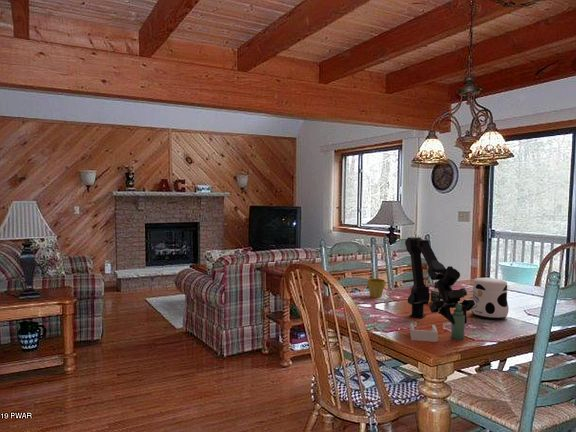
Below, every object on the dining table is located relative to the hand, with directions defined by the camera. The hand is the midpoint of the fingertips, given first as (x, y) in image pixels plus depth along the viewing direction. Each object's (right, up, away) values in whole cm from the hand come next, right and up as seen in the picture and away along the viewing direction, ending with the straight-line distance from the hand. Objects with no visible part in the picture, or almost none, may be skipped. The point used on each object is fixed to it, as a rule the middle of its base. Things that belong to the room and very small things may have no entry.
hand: (459, 323), depth 188 cm
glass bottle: (0, -7, +2) cm, 7 cm away
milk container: (+28, -5, +36) cm, 46 cm away
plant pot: (-20, -2, +75) cm, 78 cm away
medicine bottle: (+13, -4, +62) cm, 63 cm away
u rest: (-15, -6, +2) cm, 16 cm away
